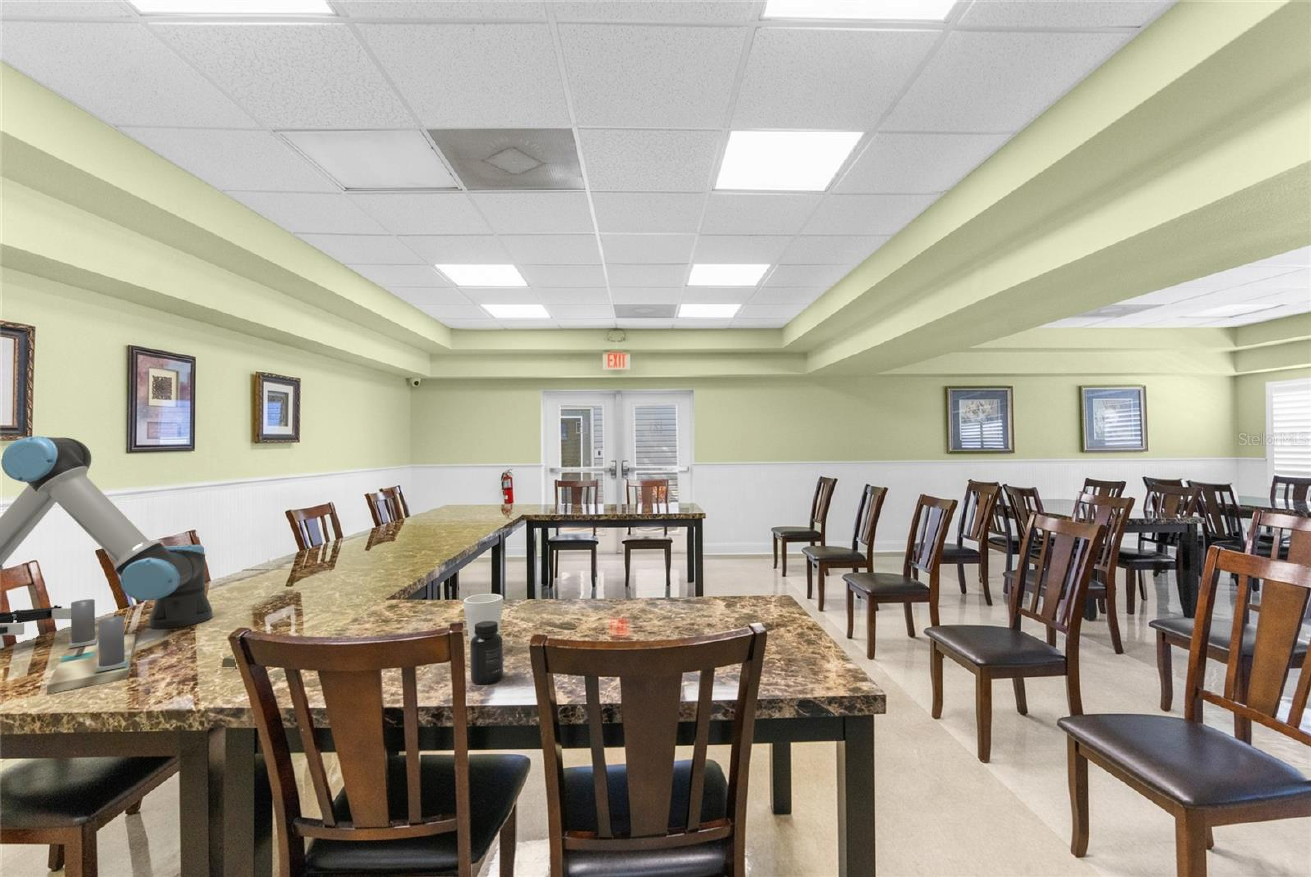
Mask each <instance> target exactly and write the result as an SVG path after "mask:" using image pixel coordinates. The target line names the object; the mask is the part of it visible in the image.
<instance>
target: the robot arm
mask: <svg viewBox="0 0 1311 877" xmlns="http://www.w3.org/2000/svg"><path fill="white" fill-rule="evenodd" d="M0 461H1V462H0V463H1V467H2V470H3V472H4V474H5V475H7V476H8V478H11V479H12V480H15V481H18V482H22V483H27V484H28V485H27V486H26V487H25V488H24V490H22V492H21V493H20V494H19V496H17V497H16V499H15V500H14V501H13V502H12V504H11V505H9V507H8V508H7V509H6V510H5V511H4V512H3V514H2V515H1V516H0V570H3V571H4V566H3V565H4V564H5V563H6V561H7V560H9V558H10V557H11V556H12V554H13V553H14V552H15V551H16V550H17V548H18V547H19V546H20V545H21V544H22V543H23V542H24V540H25V539H26V538H27V537H28V536H29V534H30V533H31V532H32V531H33V530H34V529H35V527H36V526H37V525H39V523H40V521H42V519H43V518H44V517H45V515H47V513H49V511H50V510H51V508H53V506H54V505H55V504H56V503H57V504H58V505H59V506H60V507H61V508H62V509H63V511H65V512H66V513H67V514H68V515H69V516H70V517H71V518H72V519H73V521H75V522H76V523H77V524H78V525H79V526H80V527H81V528H82V530H84V531H85V532H86V533H87V534H88V535H89V536H90V537H91V538H92V539H93V541H95V542H96V544H98V545H99V546H100V547H101V548H102V549H103V550H104V551H105V552H106V553H107V554H108V555H109V556H110V558H111V559H113V561H115V566H114V571H115V572H116V573H117V574H118V575H119V576H120V583H119V584H120V587H121V589H122V591H123V592H124V593H125V595H127V596H129V598H132V599H135V600H137V601H143V602H144V601H145V602H147V601H148V602H149V601H154V600H155V602H154V604H153V607H152V609H151V611H150V615H149V618H148V627H149V628H150V629H160V630H161V629H173V628H180V627H181V628H182V627H187V626H191V625H195V624H200V623H203V622H206V621H209V620H210V619H213V608H212V606H211V604H210V602H209V601H210V600H209V599H208V596H207V594H206V561H205V560H206V553H205V547H204V546H203V545H201V544H190V545H185V544H183V545H169V546H164V545H163V544H162V543H161V542H160V541H152V540H149V539H148V538H147V537H146V536H145V535H144V534H143V532H141V531H140V529H138V528H137V527H136V525H135V524H134V523H132V521H130V520H129V519H128V518H127V516H126V515H124V514H123V512H122V511H121V510H120V509H119V508H118V507H117V506H116V505H115V503H113V502H112V501H111V500H110V499H109V497H107V496H106V495H105V494H104V492H102V491H101V490H100V489H99V487H97V485H95V484H94V482H93V481H92V480H91V479H90V478H89V477H88V476H87V474H88V471H89V469H90V468H91V463H92V453H91V451H90V450H89V447H87V446H86V444H84V443H83V442H81V441H79V440H78V439H74V438H71V437H70V438H69V437H47V436H40V435H38V436H30V437H22V438H19V439H16V440H15V441H13V442H12V443H10V444H9V445H8V446H6V448H5V449H4V451H3V453H2V457H1V460H0ZM48 619H49V620H50V619H51V620H71V607H69V608H68V607H67V608H65V607H64V608H63V606H61V605H60V606H59V605H57V604H55V605H54V606H50V607H41V608H31V609H16V610H14V611H9V612H8V611H3V612H2V611H1V612H0V636H22V635H25V623H27V622H28V623H29V622H34V621H41V620H42V621H43V620H48ZM15 621H16V622H15Z"/></svg>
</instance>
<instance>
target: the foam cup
mask: <svg viewBox="0 0 1311 877" xmlns="http://www.w3.org/2000/svg"><path fill="white" fill-rule="evenodd" d="M503 607H504V596H503V595H502V594H497V593H480V594H474V595H471V596H467V597H466V598H464V599H463V611H464V615H465V623H466V628H467V635H468V641H469V644H470V642H471V639H472V638H473V637H474V636H476V635H475V633H474V631H475V624H477V623H479V622H483V621H495V622H497V623H498V632H497V634H499V635H500V633H501V632H500V631H501V622H502V614H503Z"/></svg>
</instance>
